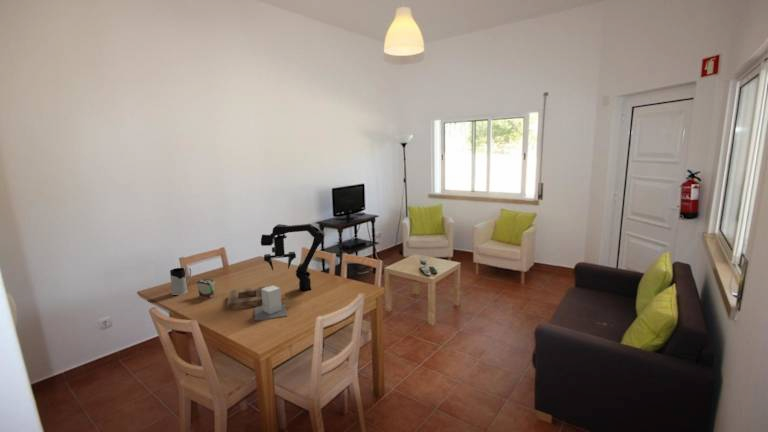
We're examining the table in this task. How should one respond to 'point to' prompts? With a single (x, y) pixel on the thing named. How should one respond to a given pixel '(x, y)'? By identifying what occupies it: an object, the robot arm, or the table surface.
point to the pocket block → (245, 302)
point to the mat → (264, 315)
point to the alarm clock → (206, 288)
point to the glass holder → (179, 281)
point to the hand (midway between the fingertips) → (280, 269)
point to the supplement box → (271, 299)
